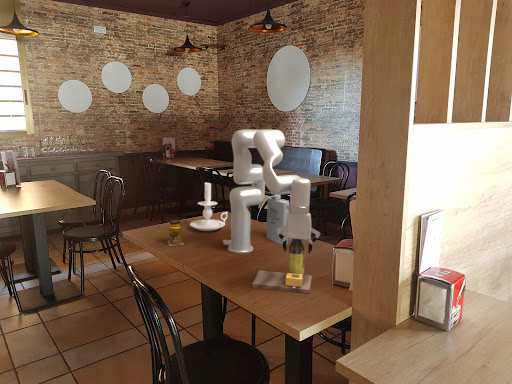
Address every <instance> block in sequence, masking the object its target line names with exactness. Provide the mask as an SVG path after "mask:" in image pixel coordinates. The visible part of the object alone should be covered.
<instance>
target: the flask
mask: <svg viewBox="0 0 512 384" xmlns="http://www.w3.org/2000/svg"><path fill="white" fill-rule="evenodd" d="M281 197H282V195H275V194H273V195H270V196H268V197H267V207H266V211H267V212H266V213H267V214H266V235H265V236H266V238H267V239H269V240H270V241H272V242H274V243H277V244H279V245H281V246H283V241H282V240H281V238H280V237H279V235H278V233H277V231H276V230H277V229H278V228H281V227H283V226H285V225H286V218H287V213H288V212H289V210H288V209H286V206H289V205H290V201H286V200H282V199H281ZM281 234H282V235H283V236H285V230H283V231H281ZM286 240H287V245H288V241H289V238H287V239H286Z"/></svg>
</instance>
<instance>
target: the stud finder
mask: <svg viewBox="0 0 512 384" xmlns="http://www.w3.org/2000/svg"><path fill="white" fill-rule="evenodd" d="M286 273H287V276H286V285H289V286H298V287H301V285H302V277H303V275H304V274H293V273H288V272H286Z"/></svg>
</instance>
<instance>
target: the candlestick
mask: <svg viewBox="0 0 512 384" xmlns="http://www.w3.org/2000/svg"><path fill="white" fill-rule="evenodd" d="M204 199H205V200H204V201H199V202H197V205H200V206H203V207H204V209H203V210H202V216H203V217H204V218H205V219H197V220H193V221H191V222H190V223H189V226H190V227H192V228H194V229H195V230H198V231H203V232H212V231H217V230H219V229H221V228H223V227H224V226H226V223H225V222H226V220H227V219H228V213H229V211H226V212H222V213H221V214H220V219H221V220H219V219H211V217H212V216H213V210H212V206H216V205H218V202H217V201H213V200H212V183H210V182H204ZM211 200H212V201H211ZM223 215H225V218H223ZM222 220H223V221H222Z"/></svg>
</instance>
